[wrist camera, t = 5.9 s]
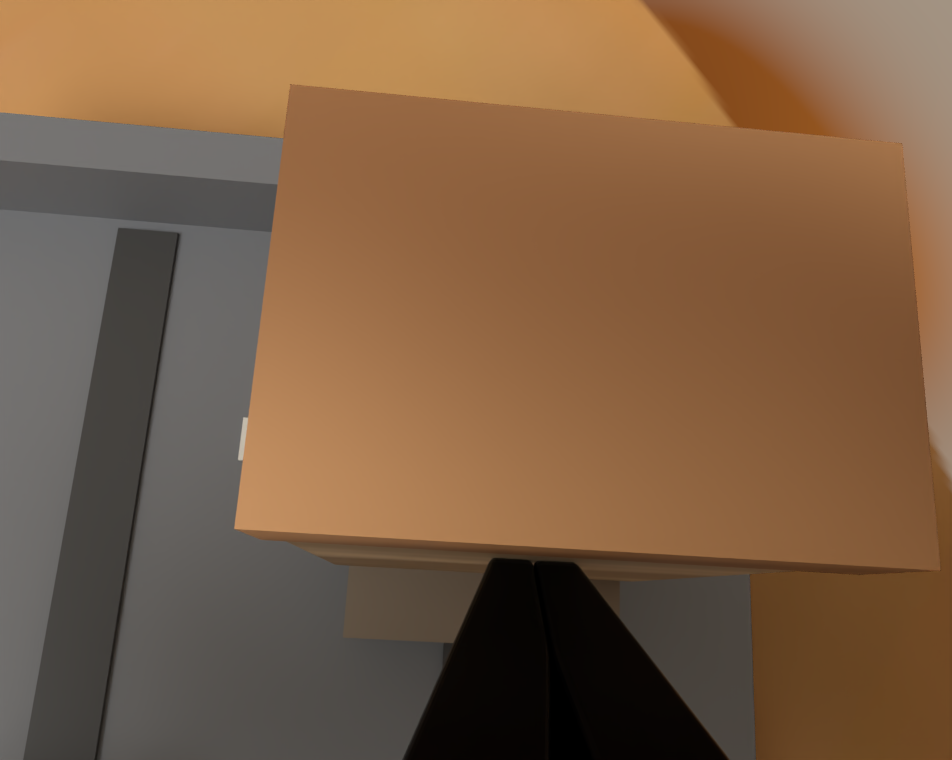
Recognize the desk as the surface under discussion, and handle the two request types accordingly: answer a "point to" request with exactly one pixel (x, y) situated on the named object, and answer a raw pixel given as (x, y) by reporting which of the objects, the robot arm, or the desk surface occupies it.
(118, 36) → the desk surface
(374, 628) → the block
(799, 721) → the desk surface
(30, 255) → the console
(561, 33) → the desk surface
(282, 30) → the desk surface
